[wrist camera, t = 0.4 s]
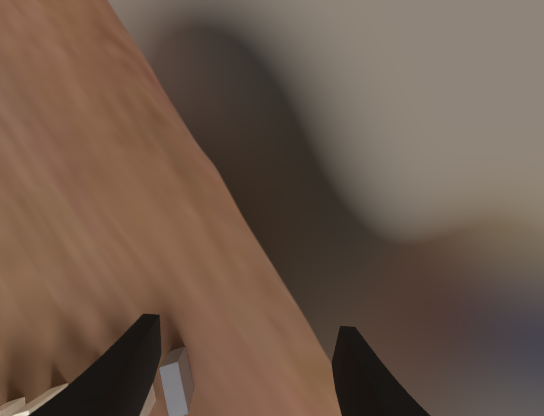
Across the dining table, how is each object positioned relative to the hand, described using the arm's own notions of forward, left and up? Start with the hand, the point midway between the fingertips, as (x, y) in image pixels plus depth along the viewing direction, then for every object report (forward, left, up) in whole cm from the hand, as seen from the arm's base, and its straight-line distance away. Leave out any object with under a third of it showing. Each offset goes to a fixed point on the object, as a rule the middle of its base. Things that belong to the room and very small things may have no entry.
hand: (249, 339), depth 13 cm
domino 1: (-8, +4, -25) cm, 27 cm away
